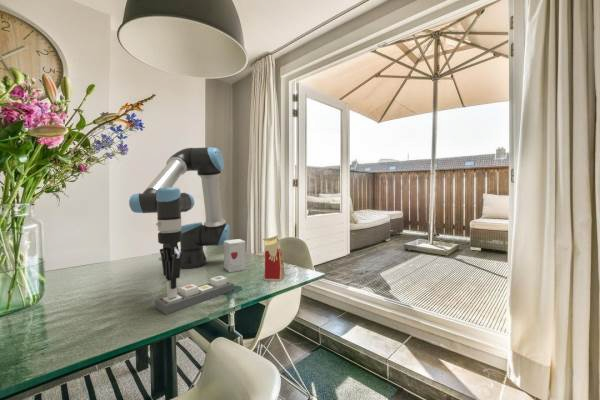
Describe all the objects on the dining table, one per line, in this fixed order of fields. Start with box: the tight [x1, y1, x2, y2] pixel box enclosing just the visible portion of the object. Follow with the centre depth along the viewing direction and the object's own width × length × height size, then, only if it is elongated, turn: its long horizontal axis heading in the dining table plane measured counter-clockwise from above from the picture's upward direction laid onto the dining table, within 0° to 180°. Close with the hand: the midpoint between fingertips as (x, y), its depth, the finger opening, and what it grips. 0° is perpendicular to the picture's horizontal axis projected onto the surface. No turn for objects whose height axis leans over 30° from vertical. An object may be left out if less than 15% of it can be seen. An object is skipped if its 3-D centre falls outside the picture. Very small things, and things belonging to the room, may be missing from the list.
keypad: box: [154, 280, 235, 315], centre depth 101 cm, size 9×27×3 cm, turn 139°
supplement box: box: [223, 238, 247, 273], centre depth 137 cm, size 9×9×15 cm
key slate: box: [209, 275, 228, 288], centre depth 108 cm, size 5×5×3 cm
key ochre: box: [198, 284, 213, 293], centre depth 103 cm, size 5×5×3 cm
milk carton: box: [262, 235, 286, 282], centre depth 123 cm, size 9×9×20 cm
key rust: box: [179, 283, 199, 298], centre depth 98 cm, size 5×5×3 cm
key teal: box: [163, 295, 182, 304], centre depth 94 cm, size 5×5×3 cm
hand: (172, 296), depth 94 cm, fingers closed
